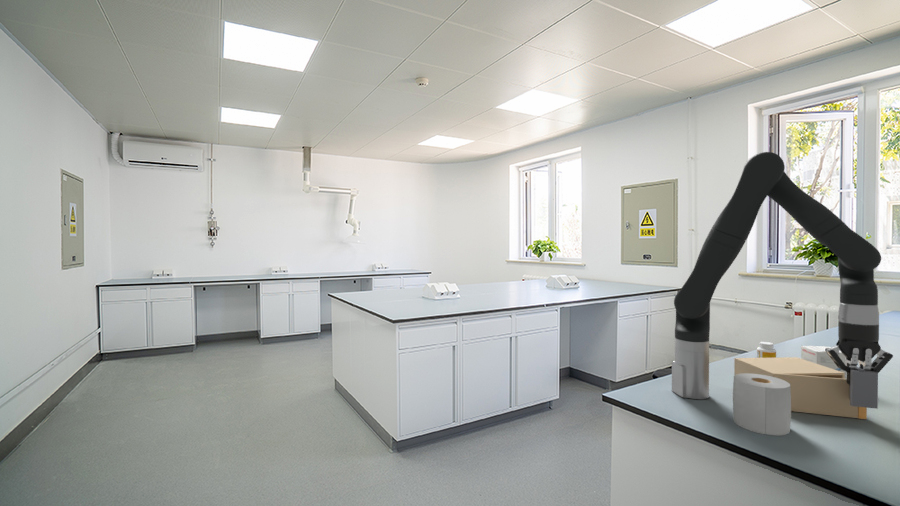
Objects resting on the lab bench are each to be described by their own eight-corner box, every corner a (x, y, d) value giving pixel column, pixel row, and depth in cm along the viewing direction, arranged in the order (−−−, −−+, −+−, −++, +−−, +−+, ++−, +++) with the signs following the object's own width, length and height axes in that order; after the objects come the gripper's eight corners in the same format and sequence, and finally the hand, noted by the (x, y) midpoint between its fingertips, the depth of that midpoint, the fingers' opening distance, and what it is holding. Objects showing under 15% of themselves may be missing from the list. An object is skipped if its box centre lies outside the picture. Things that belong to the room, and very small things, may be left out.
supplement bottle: (780, 372, 149) (780, 344, 149) (767, 374, 148) (767, 345, 148) (765, 368, 155) (765, 340, 155) (752, 369, 154) (753, 341, 153)
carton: (773, 409, 117) (773, 373, 117) (734, 389, 133) (734, 358, 133) (844, 408, 117) (844, 372, 117) (796, 388, 133) (797, 357, 133)
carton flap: (782, 417, 111) (783, 365, 111) (773, 408, 117) (774, 359, 117) (879, 427, 105) (880, 373, 104) (865, 418, 110) (865, 366, 110)
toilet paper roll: (745, 412, 116) (745, 370, 115) (799, 428, 105) (799, 382, 105) (723, 422, 109) (724, 378, 109) (779, 440, 99) (779, 392, 99)
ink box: (847, 389, 132) (848, 352, 132) (816, 387, 134) (817, 351, 134) (828, 380, 141) (829, 345, 141) (800, 379, 143) (800, 344, 142)
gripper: (832, 322, 107) (831, 389, 107) (902, 325, 102) (901, 395, 103) (818, 317, 114) (818, 380, 114) (883, 319, 109) (883, 385, 110)
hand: (857, 387), depth 108 cm, fingers closed
